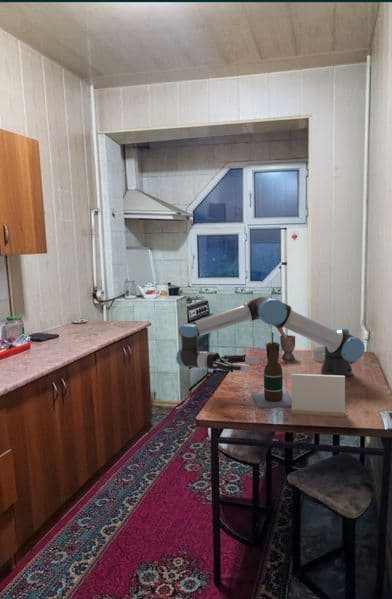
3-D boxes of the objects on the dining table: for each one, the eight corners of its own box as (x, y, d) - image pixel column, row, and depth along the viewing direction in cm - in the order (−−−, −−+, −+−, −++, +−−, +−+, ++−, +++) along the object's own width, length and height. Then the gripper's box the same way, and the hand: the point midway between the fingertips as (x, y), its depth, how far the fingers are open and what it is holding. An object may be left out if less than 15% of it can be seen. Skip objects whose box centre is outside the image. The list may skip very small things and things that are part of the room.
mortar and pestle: (274, 359, 264) (273, 325, 262) (276, 356, 272) (276, 323, 270) (294, 360, 260) (294, 326, 258) (296, 357, 268) (296, 323, 266)
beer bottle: (263, 396, 198) (262, 341, 195) (281, 396, 197) (280, 341, 195) (265, 402, 190) (264, 345, 187) (284, 402, 190) (283, 345, 187)
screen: (344, 411, 179) (344, 374, 178) (345, 416, 174) (345, 378, 172) (292, 408, 184) (291, 372, 183) (291, 413, 179) (291, 376, 177)
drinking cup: (280, 371, 238) (279, 334, 236) (265, 371, 240) (264, 333, 238) (280, 367, 246) (280, 331, 244) (266, 367, 247) (265, 331, 245)
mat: (287, 394, 202) (287, 392, 202) (297, 406, 186) (297, 404, 186) (251, 395, 201) (251, 393, 201) (258, 408, 186) (258, 406, 186)
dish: (349, 354, 271) (350, 346, 270) (355, 364, 249) (355, 355, 249) (311, 354, 275) (311, 346, 275) (313, 363, 254) (313, 354, 253)
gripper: (220, 362, 217) (263, 366, 207) (197, 375, 194) (244, 381, 185) (220, 346, 216) (263, 349, 206) (196, 358, 194) (243, 362, 184)
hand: (254, 364), depth 196 cm, fingers open, 13 cm apart
